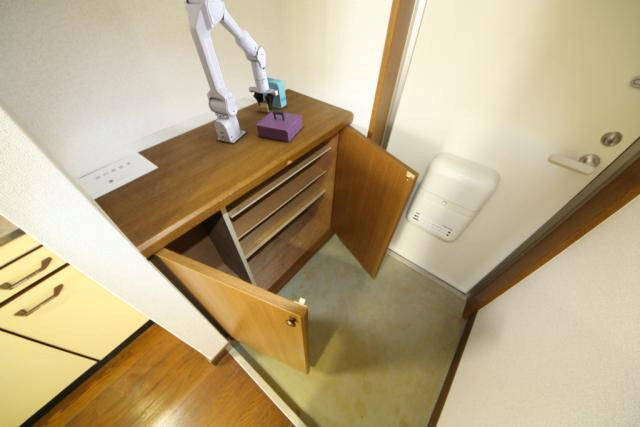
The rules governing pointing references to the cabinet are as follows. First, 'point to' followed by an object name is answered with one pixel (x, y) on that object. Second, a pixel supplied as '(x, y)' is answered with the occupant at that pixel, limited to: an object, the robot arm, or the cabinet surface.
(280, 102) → the teal flat upright piece
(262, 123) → the lid
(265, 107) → the block
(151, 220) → the cabinet surface
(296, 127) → the purple flat box
